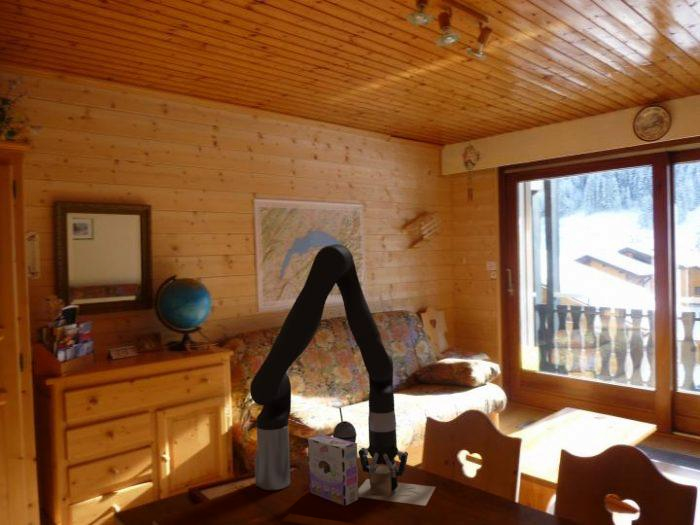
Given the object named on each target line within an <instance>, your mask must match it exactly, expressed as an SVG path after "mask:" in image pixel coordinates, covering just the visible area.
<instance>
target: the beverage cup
mask: <svg viewBox="0 0 700 525" xmlns="http://www.w3.org/2000/svg"><path fill="white" fill-rule="evenodd" d="M338 408H339V409H338V410H339V416H340V422H339V423H337V424H336V425H335V427H334V428H333V434H332V437H335V438H339V439H343V440H347V441H350V442H354V443H357V442H356V440H357V435H358V434H357V431H356V428H355V426H354V425H353V424H352V423H351V422H349V421H346V420H345V421H344V419H343V413H342V407H338Z"/></svg>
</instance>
